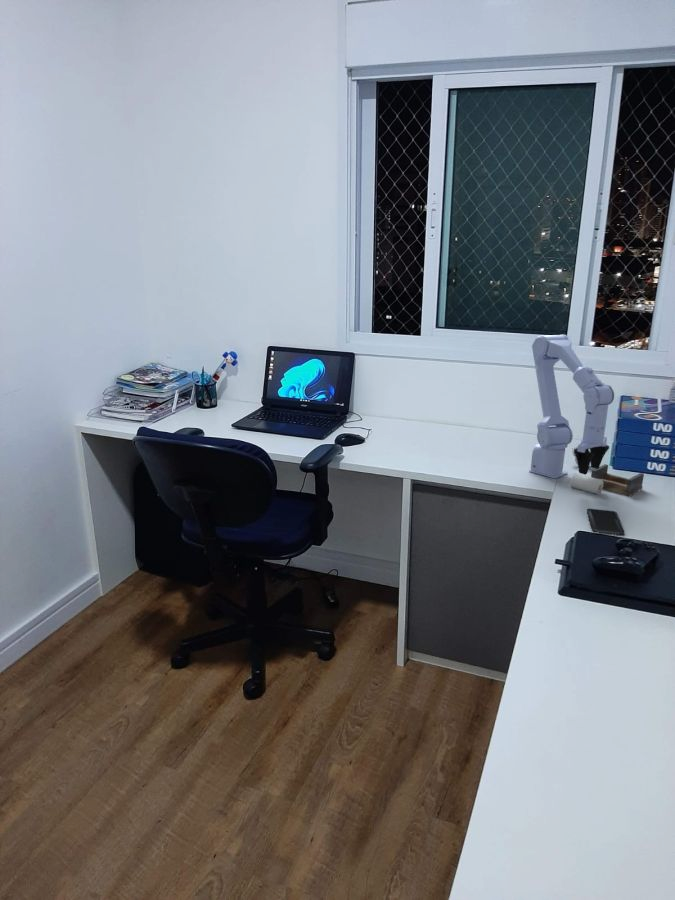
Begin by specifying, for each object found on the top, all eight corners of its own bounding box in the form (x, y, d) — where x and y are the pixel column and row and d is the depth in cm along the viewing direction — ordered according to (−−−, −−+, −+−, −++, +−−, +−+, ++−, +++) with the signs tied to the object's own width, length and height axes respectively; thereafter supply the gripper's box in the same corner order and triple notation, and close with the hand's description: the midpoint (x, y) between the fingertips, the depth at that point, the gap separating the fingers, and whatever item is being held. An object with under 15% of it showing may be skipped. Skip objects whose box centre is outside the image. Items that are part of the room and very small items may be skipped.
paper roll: (569, 488, 201) (571, 475, 200) (576, 485, 204) (578, 471, 203) (595, 496, 196) (597, 482, 194) (602, 492, 198) (604, 478, 197)
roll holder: (589, 485, 204) (591, 470, 202) (602, 479, 210) (604, 464, 208) (629, 496, 195) (632, 480, 194) (642, 489, 201) (644, 473, 200)
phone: (592, 529, 170) (586, 508, 184) (592, 533, 170) (585, 511, 184) (625, 533, 168) (616, 511, 182) (624, 537, 168) (616, 515, 182)
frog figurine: (572, 461, 226) (574, 442, 224) (593, 465, 223) (596, 445, 221) (568, 466, 221) (570, 446, 219) (590, 470, 218) (593, 449, 216)
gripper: (596, 433, 186) (590, 479, 190) (619, 425, 196) (612, 468, 200) (573, 428, 191) (567, 473, 195) (596, 420, 201) (590, 463, 205)
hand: (588, 470), depth 198 cm, fingers open, 7 cm apart
